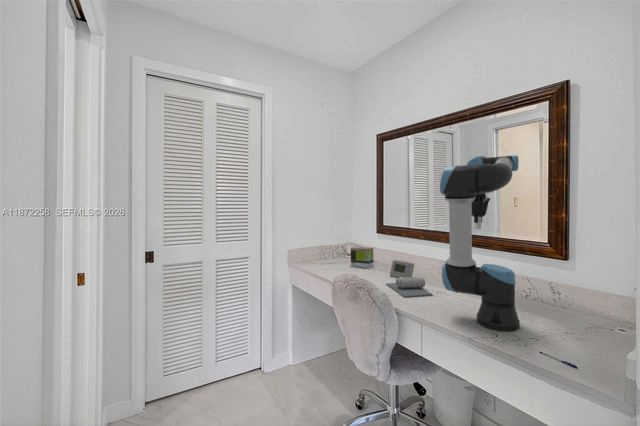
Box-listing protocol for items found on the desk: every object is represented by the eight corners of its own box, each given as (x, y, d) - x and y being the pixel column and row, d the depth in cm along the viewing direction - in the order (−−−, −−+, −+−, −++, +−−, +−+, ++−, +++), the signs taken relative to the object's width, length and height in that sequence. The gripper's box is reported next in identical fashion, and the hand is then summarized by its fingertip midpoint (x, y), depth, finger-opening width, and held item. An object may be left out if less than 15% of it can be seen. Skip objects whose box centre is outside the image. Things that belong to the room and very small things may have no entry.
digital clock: (388, 276, 200) (388, 260, 199) (398, 274, 204) (398, 258, 204) (406, 281, 186) (406, 264, 185) (416, 279, 190) (416, 263, 190)
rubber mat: (432, 295, 158) (432, 294, 158) (404, 297, 155) (404, 296, 155) (411, 283, 182) (411, 281, 182) (386, 284, 179) (386, 283, 179)
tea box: (373, 266, 230) (373, 247, 229) (368, 268, 221) (368, 248, 221) (356, 264, 238) (355, 245, 237) (350, 266, 229) (350, 247, 229)
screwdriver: (578, 369, 90) (578, 365, 90) (576, 369, 89) (576, 366, 89) (540, 352, 99) (540, 349, 99) (538, 353, 99) (538, 350, 99)
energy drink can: (422, 288, 172) (396, 288, 171) (420, 277, 174) (395, 278, 173) (426, 287, 166) (399, 288, 165) (424, 276, 168) (398, 276, 167)
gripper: (484, 185, 168) (483, 227, 169) (463, 185, 165) (462, 228, 166) (494, 185, 160) (493, 229, 161) (472, 185, 158) (471, 229, 159)
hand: (477, 228), depth 164 cm, fingers closed
